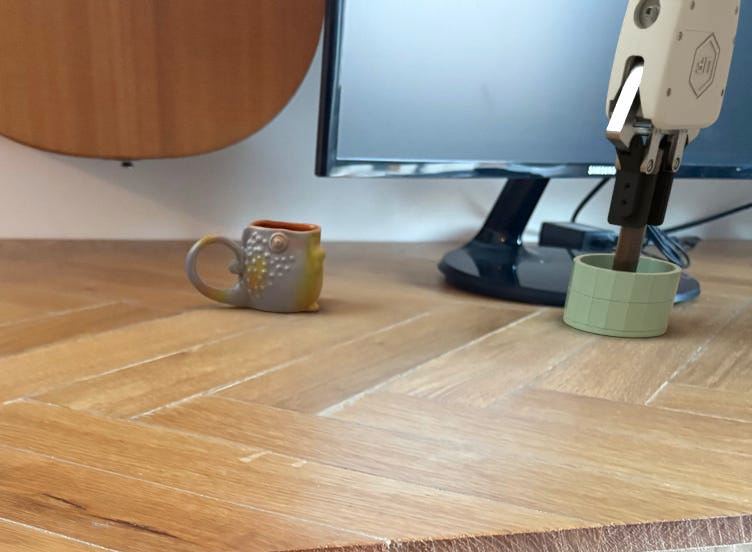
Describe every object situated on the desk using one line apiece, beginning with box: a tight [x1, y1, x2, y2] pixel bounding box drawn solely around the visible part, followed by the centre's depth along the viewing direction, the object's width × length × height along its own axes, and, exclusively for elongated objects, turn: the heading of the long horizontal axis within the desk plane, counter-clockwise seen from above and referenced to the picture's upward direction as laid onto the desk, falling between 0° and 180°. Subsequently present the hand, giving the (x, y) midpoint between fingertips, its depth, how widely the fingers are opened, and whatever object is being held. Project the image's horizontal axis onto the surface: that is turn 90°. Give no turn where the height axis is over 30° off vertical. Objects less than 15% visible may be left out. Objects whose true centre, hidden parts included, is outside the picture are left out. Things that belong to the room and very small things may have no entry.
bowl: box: [562, 253, 683, 338], centre depth 84 cm, size 9×9×5 cm
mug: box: [185, 219, 326, 313], centre depth 84 cm, size 12×7×7 cm, turn 105°
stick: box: [612, 148, 664, 273], centre depth 81 cm, size 3×3×13 cm
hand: (634, 223), depth 81 cm, fingers closed on stick, 2 cm apart
